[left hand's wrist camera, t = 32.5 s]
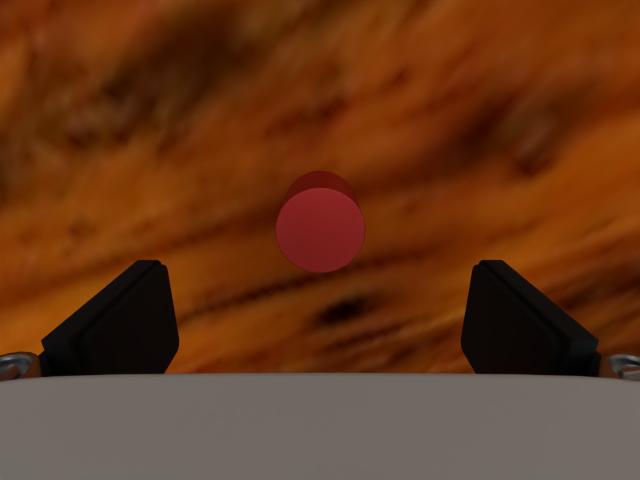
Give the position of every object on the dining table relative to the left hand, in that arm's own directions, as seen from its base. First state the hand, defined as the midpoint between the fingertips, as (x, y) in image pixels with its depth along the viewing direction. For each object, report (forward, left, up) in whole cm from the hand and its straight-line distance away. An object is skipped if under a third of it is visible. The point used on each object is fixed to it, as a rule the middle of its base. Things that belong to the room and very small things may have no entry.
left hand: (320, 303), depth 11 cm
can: (0, 0, -12) cm, 12 cm away
